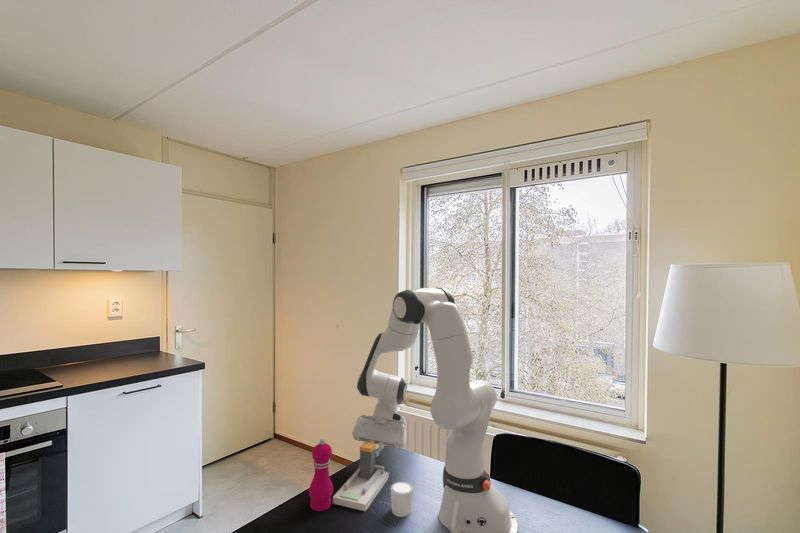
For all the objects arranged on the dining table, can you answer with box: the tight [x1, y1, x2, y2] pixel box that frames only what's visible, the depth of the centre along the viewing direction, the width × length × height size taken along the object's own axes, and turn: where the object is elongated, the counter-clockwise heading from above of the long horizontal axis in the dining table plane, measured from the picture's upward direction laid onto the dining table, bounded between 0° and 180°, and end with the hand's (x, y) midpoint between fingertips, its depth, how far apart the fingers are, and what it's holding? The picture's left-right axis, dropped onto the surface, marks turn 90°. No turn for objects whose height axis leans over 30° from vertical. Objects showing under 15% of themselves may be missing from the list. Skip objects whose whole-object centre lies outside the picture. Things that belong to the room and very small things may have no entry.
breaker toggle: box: [359, 441, 377, 479], centre depth 130 cm, size 4×4×10 cm
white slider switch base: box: [332, 462, 390, 512], centre depth 125 cm, size 11×20×4 cm, turn 161°
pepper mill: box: [308, 438, 334, 512], centre depth 117 cm, size 7×7×20 cm
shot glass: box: [390, 481, 414, 518], centre depth 115 cm, size 7×7×7 cm
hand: (373, 455), depth 135 cm, fingers closed
